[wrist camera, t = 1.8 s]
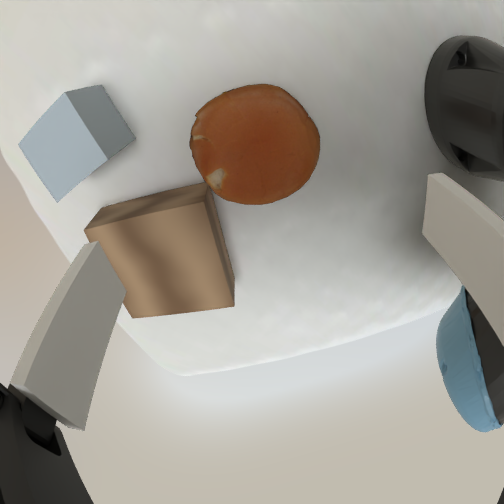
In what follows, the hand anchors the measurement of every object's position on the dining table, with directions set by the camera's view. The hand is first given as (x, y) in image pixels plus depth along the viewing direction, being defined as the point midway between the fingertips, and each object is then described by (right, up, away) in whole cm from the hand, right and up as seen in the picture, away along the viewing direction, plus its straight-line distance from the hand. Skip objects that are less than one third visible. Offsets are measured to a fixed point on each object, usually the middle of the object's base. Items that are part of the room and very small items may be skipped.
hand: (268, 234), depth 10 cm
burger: (0, +9, +12) cm, 15 cm away
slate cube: (-14, +10, +10) cm, 20 cm away
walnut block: (-9, 0, +18) cm, 20 cm away
